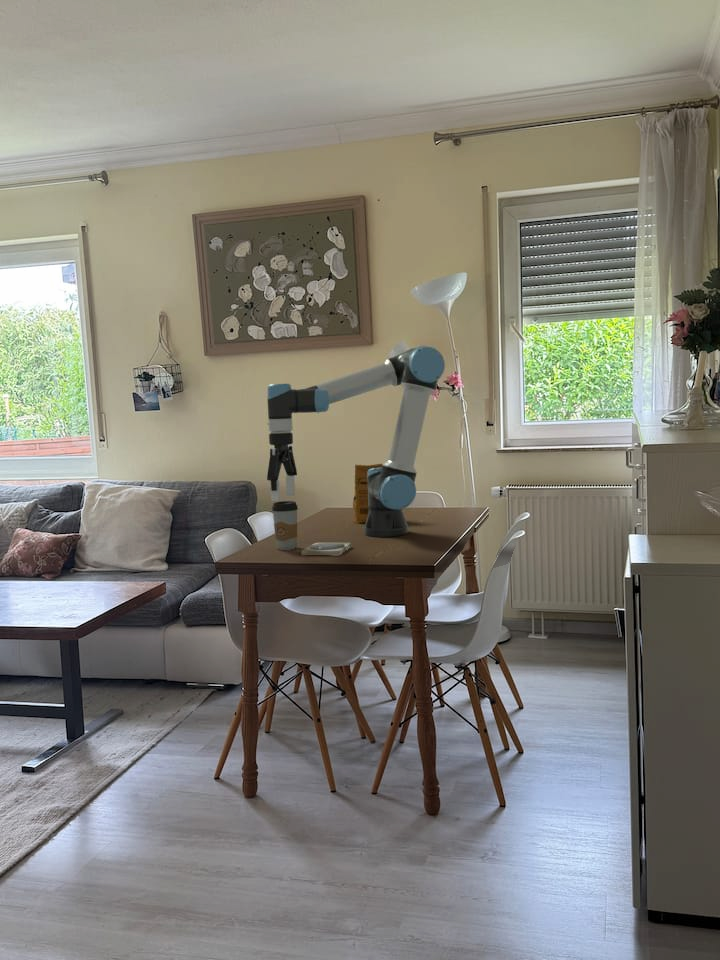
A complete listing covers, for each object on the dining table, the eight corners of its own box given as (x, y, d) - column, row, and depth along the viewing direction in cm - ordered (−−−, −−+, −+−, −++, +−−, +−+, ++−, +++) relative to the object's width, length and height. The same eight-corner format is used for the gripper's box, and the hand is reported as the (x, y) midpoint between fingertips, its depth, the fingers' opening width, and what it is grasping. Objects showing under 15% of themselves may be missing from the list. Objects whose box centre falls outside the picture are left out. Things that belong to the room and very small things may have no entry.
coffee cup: (269, 550, 276) (267, 504, 274) (281, 545, 284) (278, 500, 282) (292, 551, 273) (290, 504, 271) (304, 546, 281) (301, 501, 279)
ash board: (316, 547, 279) (316, 541, 279) (351, 547, 275) (351, 542, 275) (301, 555, 265) (301, 550, 265) (338, 555, 262) (338, 550, 262)
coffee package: (354, 520, 333) (351, 463, 330) (386, 518, 332) (383, 462, 330) (352, 524, 323) (350, 465, 320) (385, 523, 322) (383, 464, 320)
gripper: (283, 430, 287) (286, 493, 290) (254, 434, 263) (257, 503, 266) (304, 430, 285) (307, 493, 287) (277, 434, 261) (280, 503, 264)
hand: (283, 498), depth 277 cm, fingers open, 13 cm apart
